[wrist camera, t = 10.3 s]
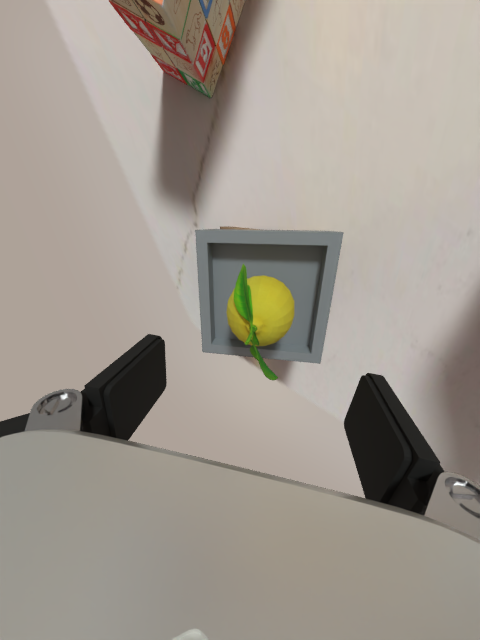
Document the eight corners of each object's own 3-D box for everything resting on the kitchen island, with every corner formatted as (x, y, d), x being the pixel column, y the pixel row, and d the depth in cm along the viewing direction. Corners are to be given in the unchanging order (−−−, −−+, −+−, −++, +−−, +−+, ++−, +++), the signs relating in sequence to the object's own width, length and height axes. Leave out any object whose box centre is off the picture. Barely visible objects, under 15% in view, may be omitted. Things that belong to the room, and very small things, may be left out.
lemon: (280, 338, 23) (274, 408, 14) (228, 317, 24) (189, 371, 14) (310, 278, 21) (326, 315, 11) (250, 254, 21) (219, 272, 12)
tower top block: (327, 230, 23) (343, 232, 18) (311, 334, 28) (320, 363, 22) (215, 229, 25) (195, 230, 19) (217, 327, 30) (202, 352, 24)
